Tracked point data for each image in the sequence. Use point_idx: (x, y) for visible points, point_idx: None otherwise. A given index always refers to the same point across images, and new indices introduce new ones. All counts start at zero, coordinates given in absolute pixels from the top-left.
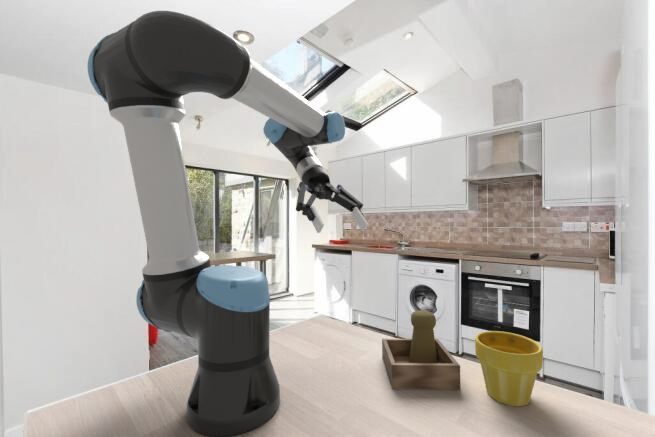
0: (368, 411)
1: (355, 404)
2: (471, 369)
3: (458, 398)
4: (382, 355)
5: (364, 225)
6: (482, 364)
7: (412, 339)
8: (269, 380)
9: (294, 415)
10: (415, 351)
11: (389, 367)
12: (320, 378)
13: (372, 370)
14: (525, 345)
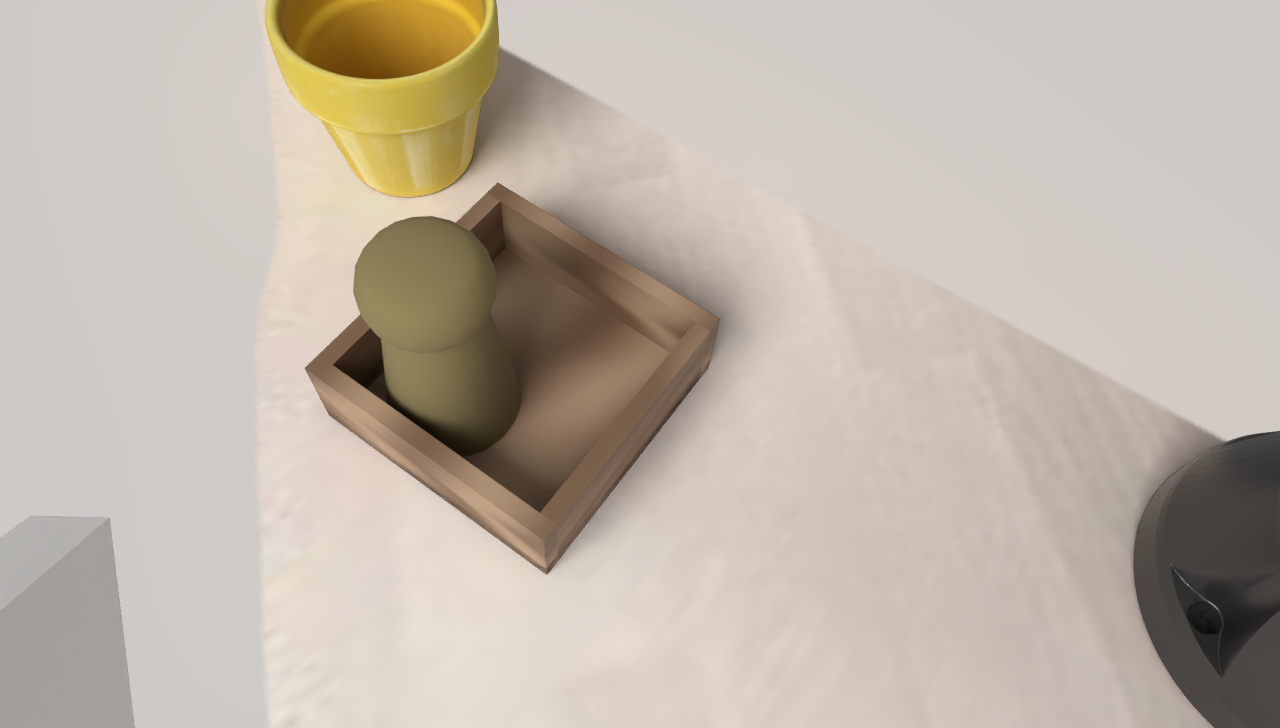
0: (863, 329)
1: (882, 376)
2: (318, 287)
3: None
4: (550, 564)
5: (108, 597)
6: (465, 113)
7: (486, 369)
8: (1251, 452)
9: (1098, 442)
10: (508, 364)
11: (681, 381)
12: (924, 593)
13: (675, 513)
14: (293, 8)
